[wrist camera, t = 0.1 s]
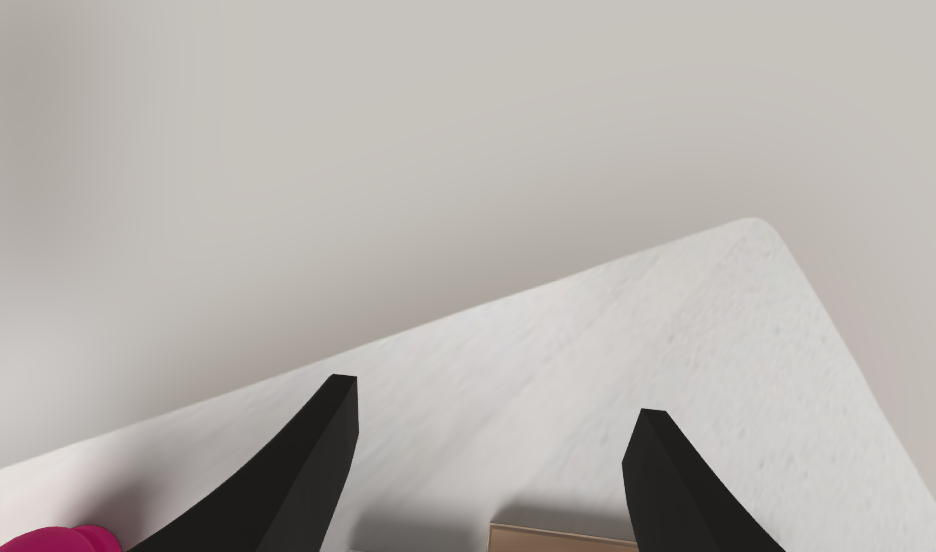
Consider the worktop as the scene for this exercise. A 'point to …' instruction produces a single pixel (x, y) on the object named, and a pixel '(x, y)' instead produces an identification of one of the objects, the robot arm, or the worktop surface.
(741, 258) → the worktop surface
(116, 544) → the pepper mill
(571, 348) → the worktop surface
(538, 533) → the wooden slotted board
